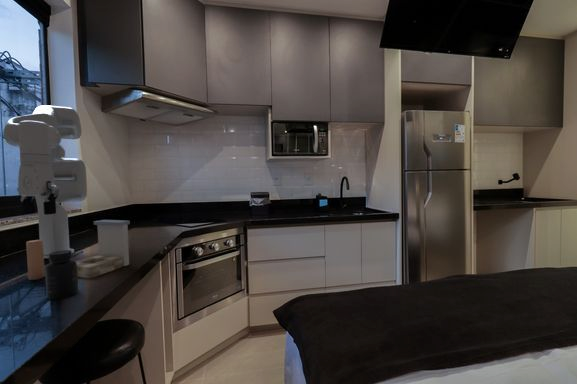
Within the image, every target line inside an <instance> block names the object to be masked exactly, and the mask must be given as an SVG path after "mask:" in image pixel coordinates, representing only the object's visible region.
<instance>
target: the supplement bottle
mask: <svg viewBox="0 0 577 384" xmlns="http://www.w3.org/2000/svg"><path fill="white" fill-rule="evenodd" d="M48 261H49V263H48V264H46V265H45V266H44V268H45V285H46V296H47V299H49V300H51V301H52V300H53V301H54V300H55V301H56V300H62V299H67V298H70V297H73V296H75V295H76V294H77V293H78V292H79V290H80V289H79V277H78V273H77V263H76V261H77V260H75V259H73V253H71V250H62V251H56V252H52V253H50V254H49V258H48Z"/></svg>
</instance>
